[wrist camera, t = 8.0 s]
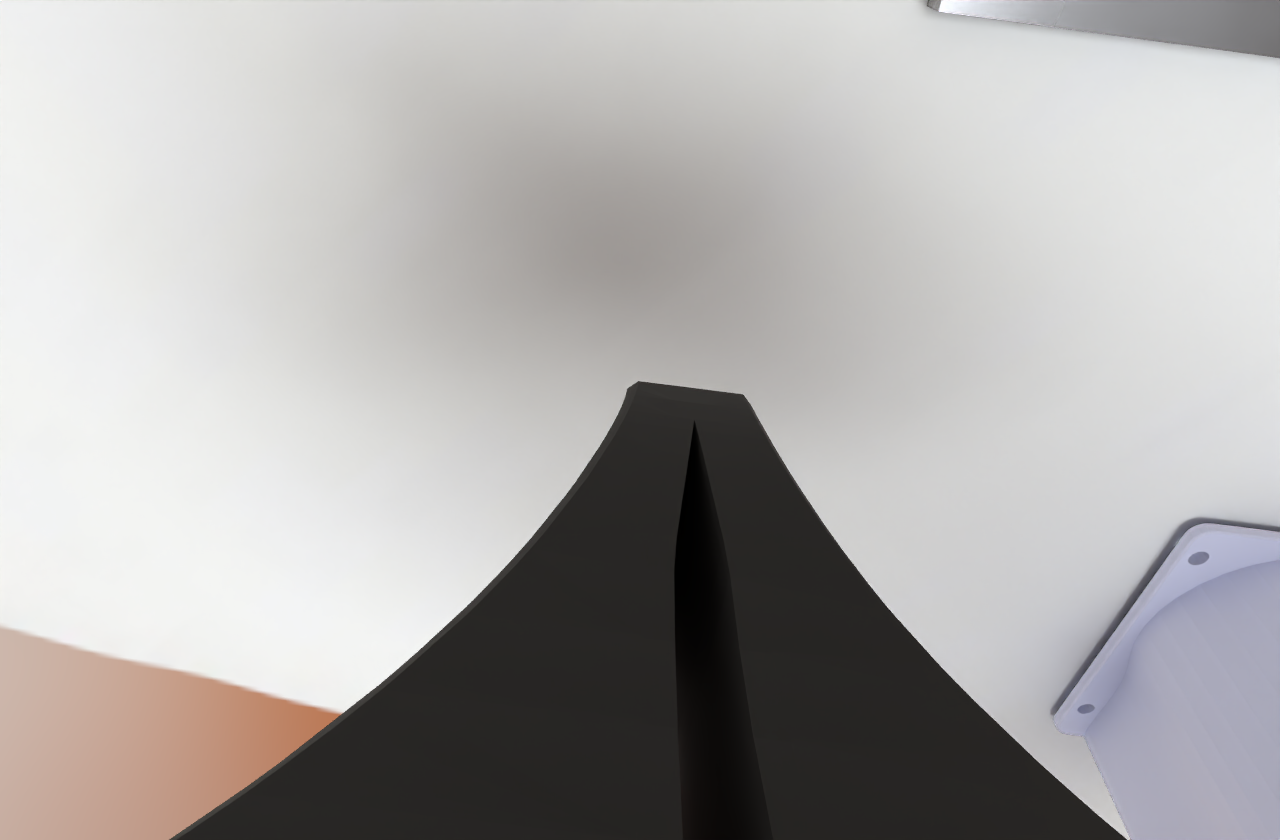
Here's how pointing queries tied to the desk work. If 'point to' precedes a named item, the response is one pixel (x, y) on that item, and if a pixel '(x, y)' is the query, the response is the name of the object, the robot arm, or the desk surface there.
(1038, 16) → the gauge bed
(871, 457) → the desk surface
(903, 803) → the robot arm
